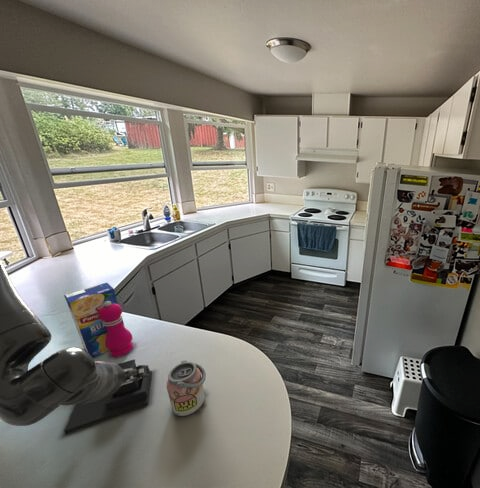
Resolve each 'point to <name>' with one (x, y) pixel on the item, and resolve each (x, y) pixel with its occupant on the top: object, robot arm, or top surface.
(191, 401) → the beverage can
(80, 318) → the beverage box
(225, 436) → the top surface
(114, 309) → the pepper mill
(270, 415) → the top surface
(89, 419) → the base pad
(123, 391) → the black tall rectangular block
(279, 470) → the top surface
